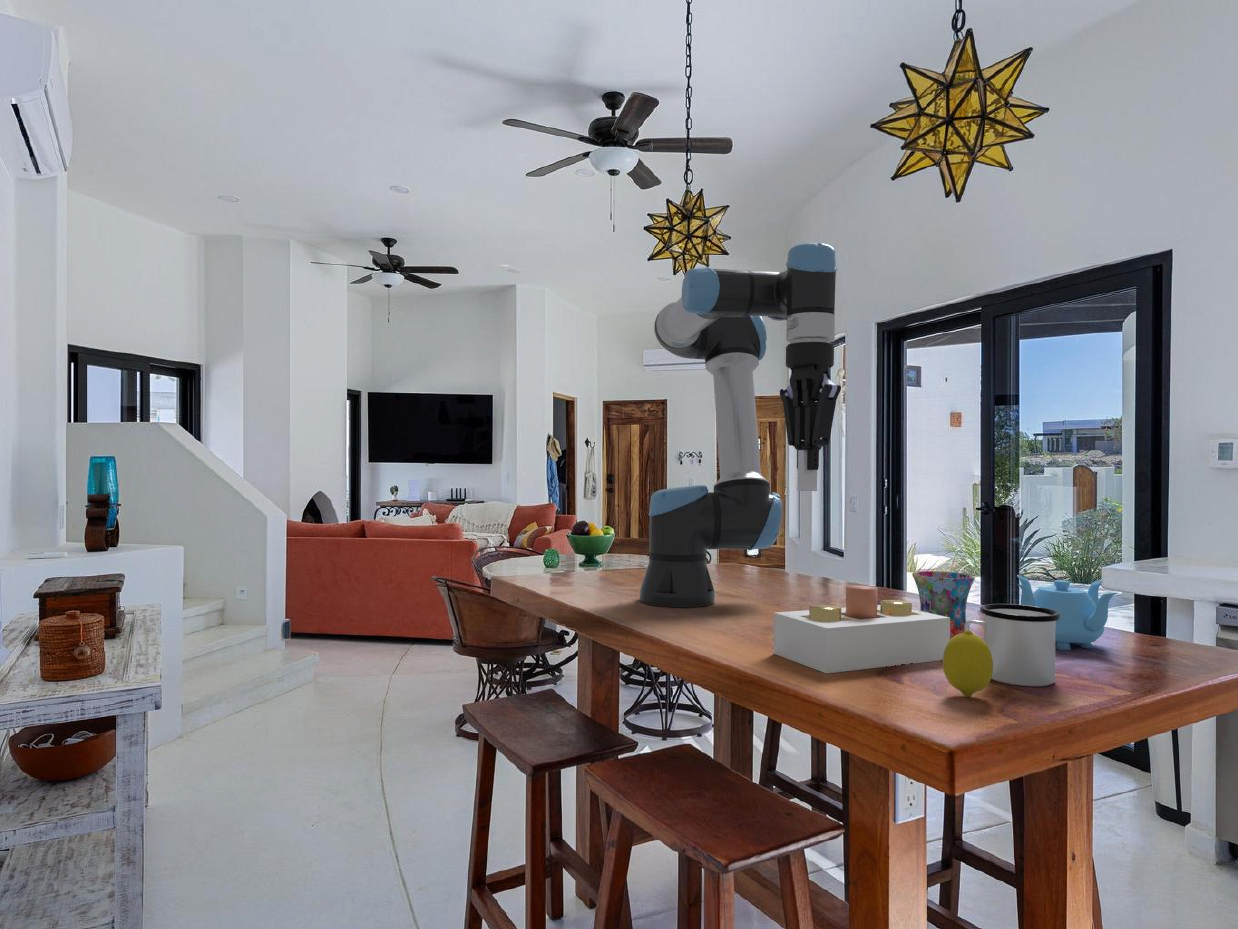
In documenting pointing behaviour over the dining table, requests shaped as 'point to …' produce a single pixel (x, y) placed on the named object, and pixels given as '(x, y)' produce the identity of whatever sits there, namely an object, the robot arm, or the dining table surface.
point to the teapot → (1071, 610)
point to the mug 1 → (945, 596)
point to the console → (860, 640)
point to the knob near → (825, 613)
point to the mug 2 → (1020, 643)
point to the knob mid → (861, 602)
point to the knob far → (895, 608)
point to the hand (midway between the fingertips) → (807, 490)
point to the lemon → (968, 663)
